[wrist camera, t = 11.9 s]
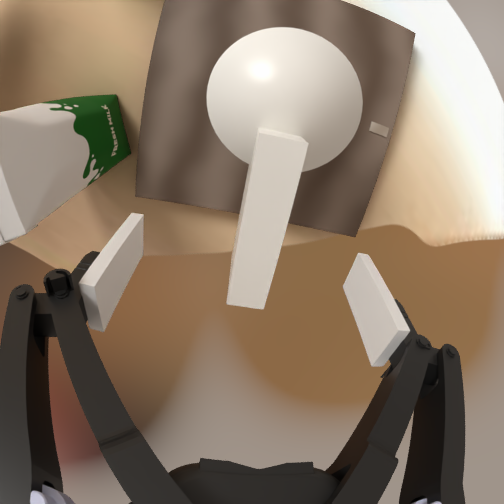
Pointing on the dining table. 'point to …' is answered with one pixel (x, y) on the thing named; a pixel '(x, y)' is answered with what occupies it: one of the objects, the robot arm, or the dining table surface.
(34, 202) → the milk carton
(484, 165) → the dining table surface
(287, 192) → the spoon
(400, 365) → the robot arm
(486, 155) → the dining table surface
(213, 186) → the base plate
